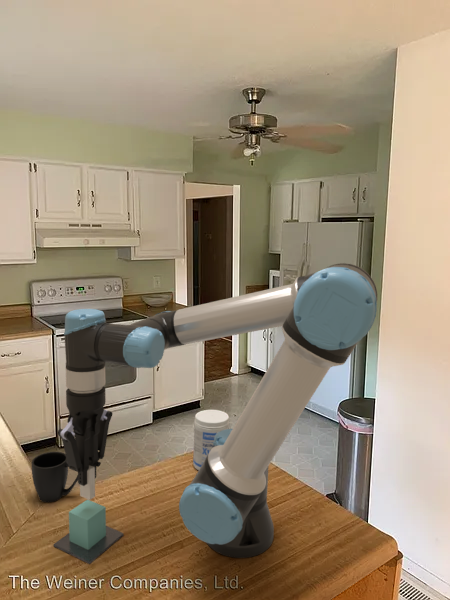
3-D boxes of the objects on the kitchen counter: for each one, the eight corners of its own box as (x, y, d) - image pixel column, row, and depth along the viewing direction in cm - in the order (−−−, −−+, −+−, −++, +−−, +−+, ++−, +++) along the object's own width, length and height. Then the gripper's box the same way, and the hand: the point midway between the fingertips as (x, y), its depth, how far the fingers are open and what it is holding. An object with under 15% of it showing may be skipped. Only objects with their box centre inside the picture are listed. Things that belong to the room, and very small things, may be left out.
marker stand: (123, 535, 101) (123, 509, 100) (89, 564, 92) (88, 536, 91) (89, 520, 105) (88, 495, 104) (53, 546, 97) (52, 519, 96)
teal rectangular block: (106, 535, 100) (105, 506, 99) (88, 549, 95) (87, 520, 94) (87, 527, 102) (87, 499, 101) (69, 541, 98) (68, 512, 97)
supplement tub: (203, 478, 124) (204, 425, 122) (187, 462, 132) (187, 412, 130) (234, 469, 129) (236, 418, 127) (216, 454, 137) (218, 406, 135)
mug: (74, 509, 109) (73, 471, 108) (26, 504, 111) (24, 466, 109) (89, 489, 117) (88, 454, 116) (43, 485, 119) (42, 450, 117)
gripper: (95, 374, 101) (96, 476, 104) (46, 393, 89) (49, 506, 93) (122, 381, 97) (122, 486, 101) (74, 401, 86) (77, 518, 90)
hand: (87, 496), depth 97 cm, fingers closed
